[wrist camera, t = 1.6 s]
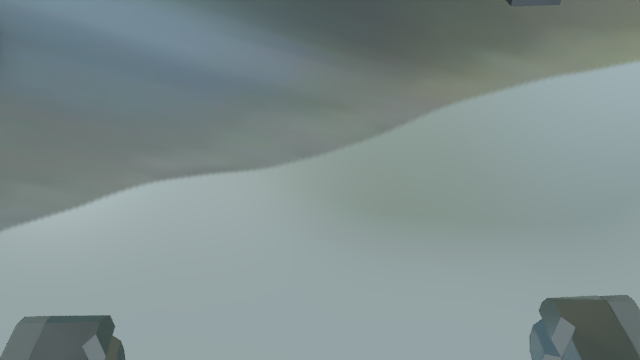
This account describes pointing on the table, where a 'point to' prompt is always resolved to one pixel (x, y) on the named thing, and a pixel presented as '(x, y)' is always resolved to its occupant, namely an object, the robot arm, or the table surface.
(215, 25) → the table surface
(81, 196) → the table surface
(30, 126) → the table surface
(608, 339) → the robot arm
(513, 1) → the bracket
